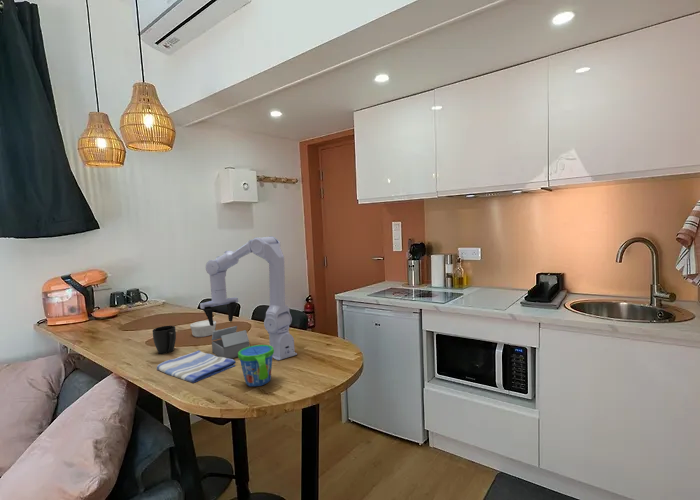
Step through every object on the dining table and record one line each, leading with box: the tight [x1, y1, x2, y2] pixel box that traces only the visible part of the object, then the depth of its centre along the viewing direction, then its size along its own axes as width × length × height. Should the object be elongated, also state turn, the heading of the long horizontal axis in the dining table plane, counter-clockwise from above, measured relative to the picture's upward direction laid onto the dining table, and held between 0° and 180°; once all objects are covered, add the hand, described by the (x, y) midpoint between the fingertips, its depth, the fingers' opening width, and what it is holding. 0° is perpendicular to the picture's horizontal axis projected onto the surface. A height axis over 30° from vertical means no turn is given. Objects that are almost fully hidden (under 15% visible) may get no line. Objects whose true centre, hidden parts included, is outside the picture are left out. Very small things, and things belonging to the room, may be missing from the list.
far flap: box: [211, 325, 238, 342], centre depth 145 cm, size 4×9×1 cm
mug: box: [152, 325, 177, 355], centre depth 146 cm, size 8×12×10 cm
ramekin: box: [189, 319, 217, 338], centre depth 170 cm, size 11×11×5 cm
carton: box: [211, 338, 251, 359], centre depth 141 cm, size 12×10×4 cm
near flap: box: [221, 329, 250, 348], centre depth 137 cm, size 4×9×1 cm
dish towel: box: [156, 350, 236, 384], centre depth 128 cm, size 17×24×3 cm
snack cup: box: [237, 344, 274, 387], centre depth 112 cm, size 16×10×10 cm
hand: (221, 323), depth 147 cm, fingers open, 7 cm apart
